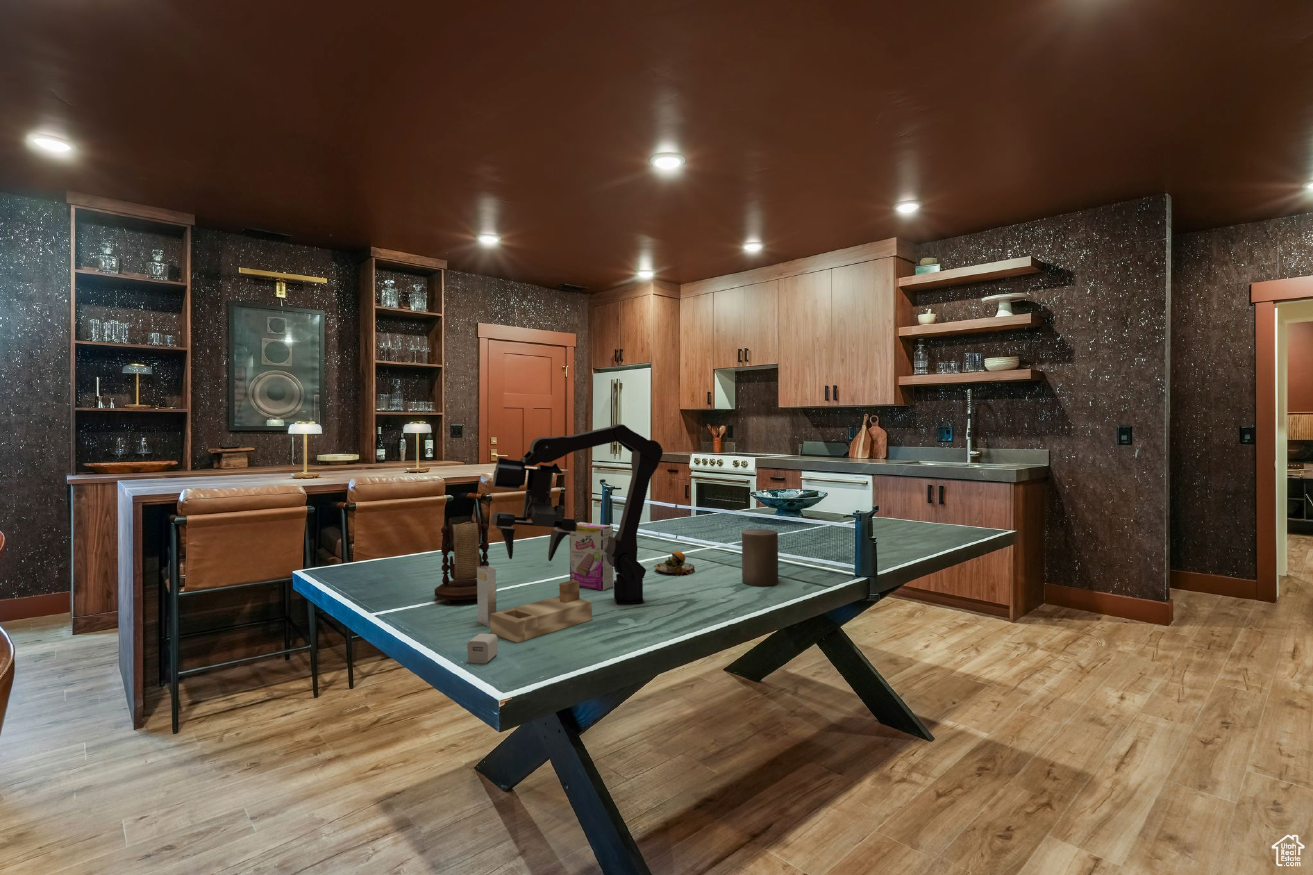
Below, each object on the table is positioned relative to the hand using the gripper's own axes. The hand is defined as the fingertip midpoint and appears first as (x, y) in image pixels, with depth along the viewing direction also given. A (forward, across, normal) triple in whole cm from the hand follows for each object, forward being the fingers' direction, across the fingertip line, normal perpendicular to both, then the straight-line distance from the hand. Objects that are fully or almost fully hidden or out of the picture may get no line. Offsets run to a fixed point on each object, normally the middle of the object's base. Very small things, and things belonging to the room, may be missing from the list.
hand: (530, 559), depth 153 cm
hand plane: (+12, +1, -11) cm, 17 cm away
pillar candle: (+3, +64, -1) cm, 64 cm away
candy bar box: (+8, +22, +16) cm, 29 cm away
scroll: (+13, -9, +20) cm, 26 cm away
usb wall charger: (+15, -13, -24) cm, 31 cm away
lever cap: (+14, -9, -3) cm, 17 cm away
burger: (+4, +50, +22) cm, 54 cm away
